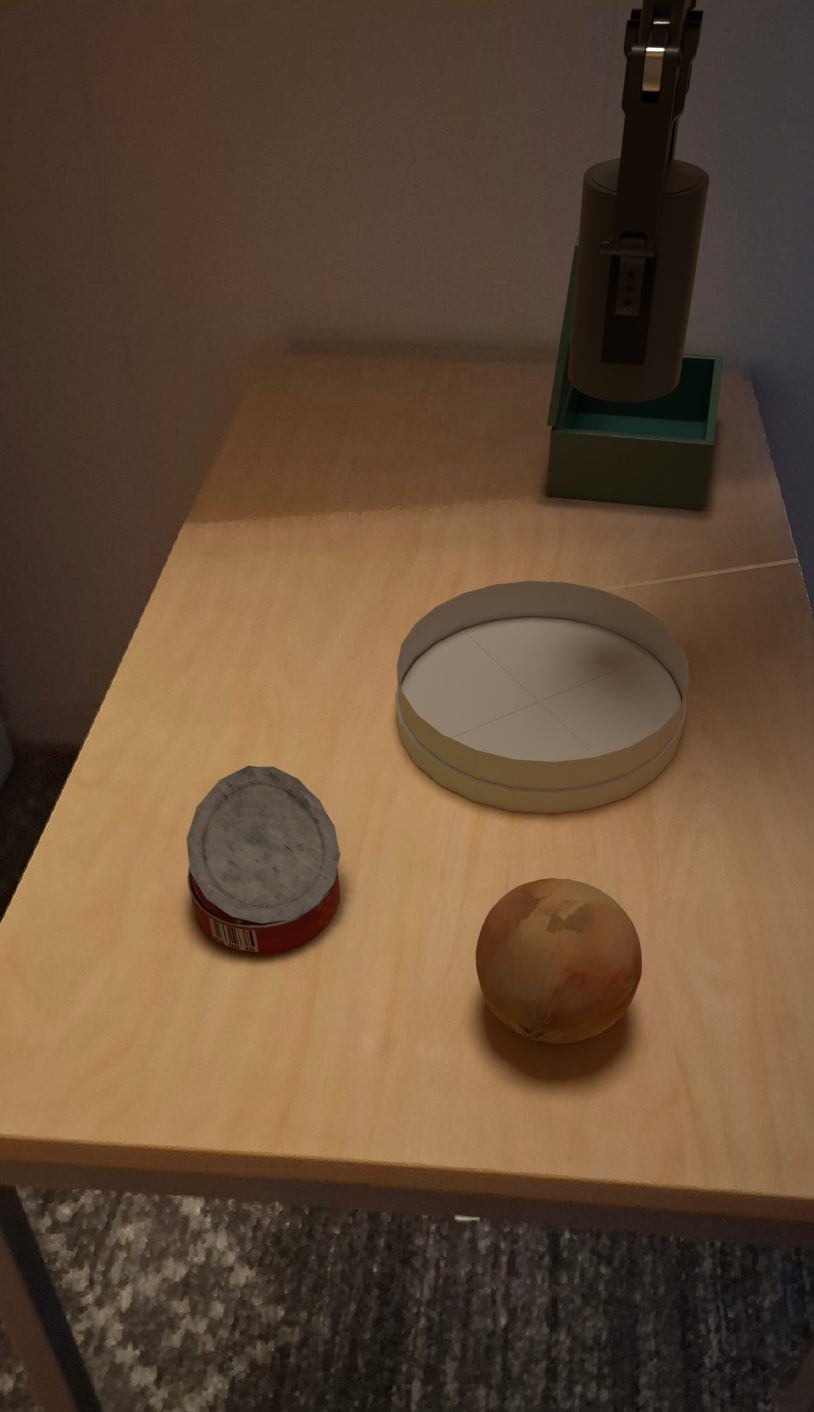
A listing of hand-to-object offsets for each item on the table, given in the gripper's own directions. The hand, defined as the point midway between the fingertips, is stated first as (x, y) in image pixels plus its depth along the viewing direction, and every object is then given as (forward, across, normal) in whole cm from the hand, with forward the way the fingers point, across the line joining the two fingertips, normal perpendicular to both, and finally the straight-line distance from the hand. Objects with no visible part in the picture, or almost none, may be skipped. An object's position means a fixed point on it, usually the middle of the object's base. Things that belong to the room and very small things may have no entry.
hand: (629, 334), depth 76 cm
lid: (+11, -32, -6) cm, 34 cm away
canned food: (+26, +31, -18) cm, 44 cm away
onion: (+26, +36, +2) cm, 44 cm away
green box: (+26, -32, 0) cm, 41 cm away
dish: (+26, +8, -3) cm, 28 cm away
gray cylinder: (+3, 0, 0) cm, 3 cm away
